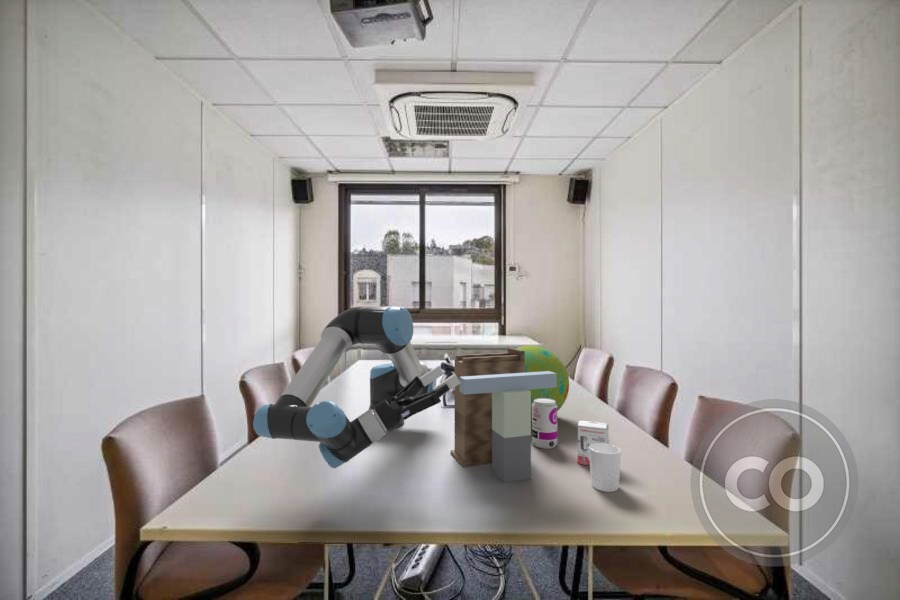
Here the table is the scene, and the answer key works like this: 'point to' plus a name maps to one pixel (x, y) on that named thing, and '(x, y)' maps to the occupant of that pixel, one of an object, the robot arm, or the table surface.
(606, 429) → the ink box
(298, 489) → the table surface
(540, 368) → the globe
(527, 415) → the upper block
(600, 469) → the white cup
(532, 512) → the table surface
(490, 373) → the stand
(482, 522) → the table surface
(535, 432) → the supplement can
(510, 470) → the lower block
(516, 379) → the pale blue bar
